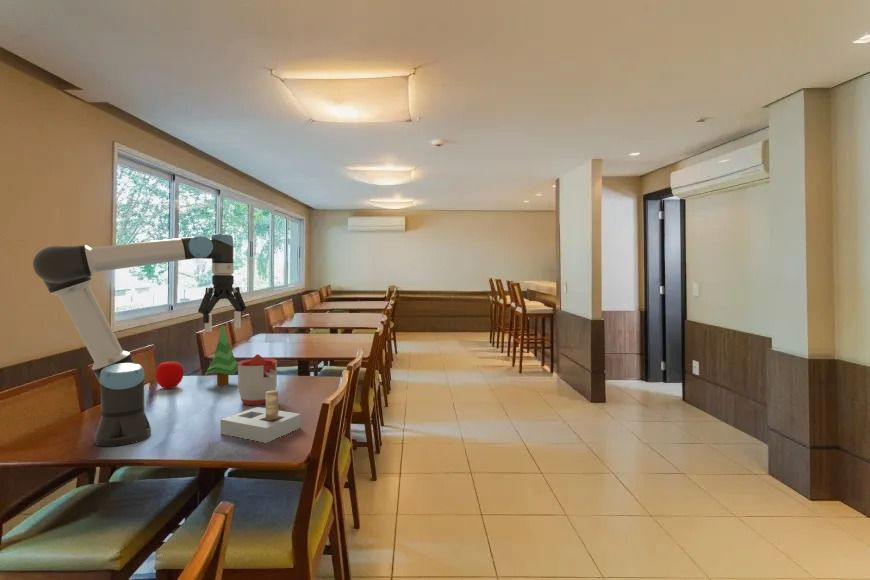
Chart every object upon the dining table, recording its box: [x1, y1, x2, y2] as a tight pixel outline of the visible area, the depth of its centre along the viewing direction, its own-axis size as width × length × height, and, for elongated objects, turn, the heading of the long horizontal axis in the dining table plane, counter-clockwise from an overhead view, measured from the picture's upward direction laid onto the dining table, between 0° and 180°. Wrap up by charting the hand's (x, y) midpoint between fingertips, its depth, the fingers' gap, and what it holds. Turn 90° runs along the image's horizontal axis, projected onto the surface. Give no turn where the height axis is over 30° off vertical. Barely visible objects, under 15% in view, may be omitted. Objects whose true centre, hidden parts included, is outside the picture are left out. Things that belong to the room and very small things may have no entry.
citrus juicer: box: [237, 354, 278, 406], centre depth 191 cm, size 16×17×20 cm
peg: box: [265, 390, 279, 422], centre depth 154 cm, size 4×4×14 cm
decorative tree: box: [204, 322, 239, 387], centre depth 220 cm, size 14×16×30 cm
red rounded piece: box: [155, 360, 184, 390], centre depth 214 cm, size 11×11×13 cm
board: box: [220, 406, 302, 444], centre depth 157 cm, size 16×20×5 cm
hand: (223, 329), depth 178 cm, fingers open, 13 cm apart
